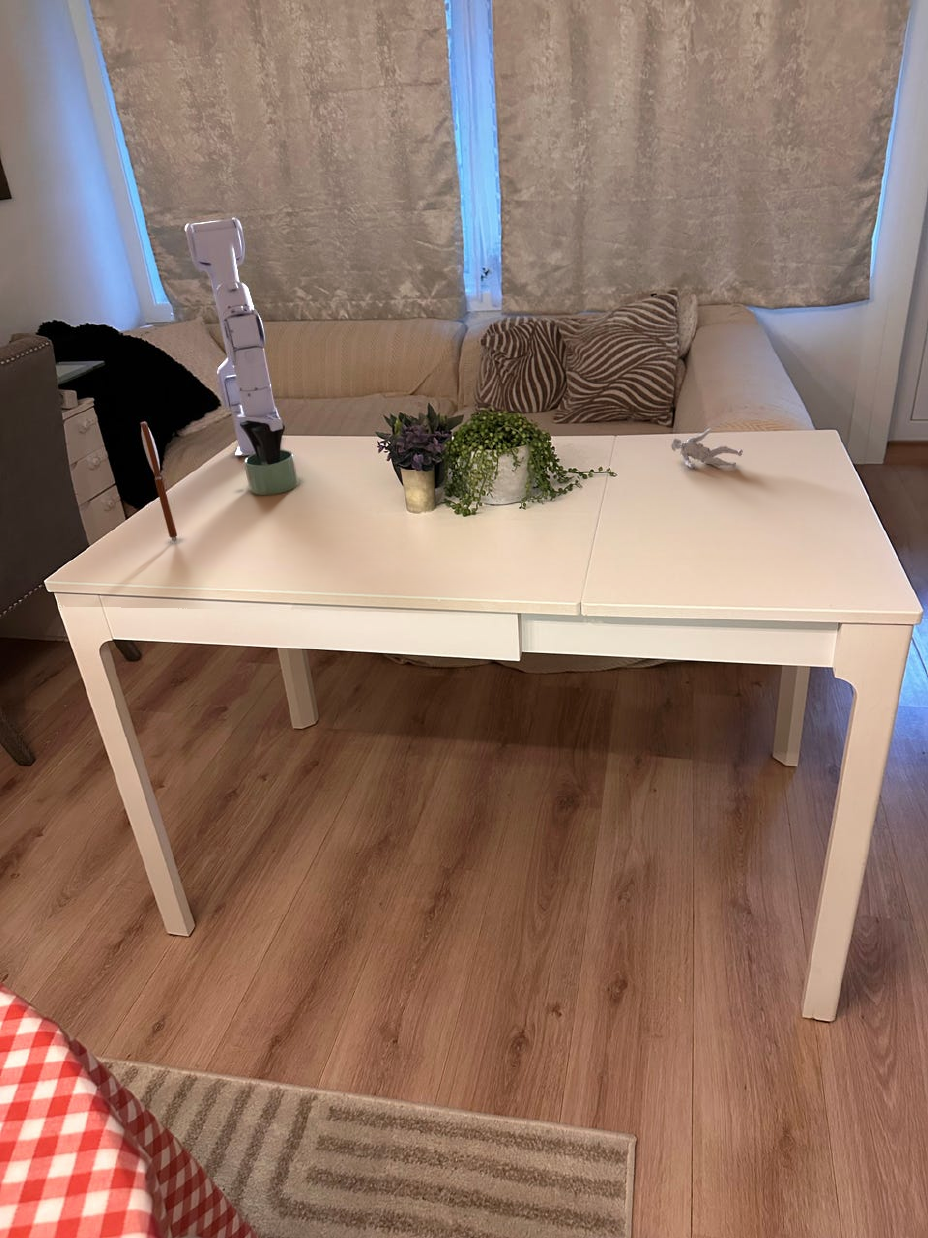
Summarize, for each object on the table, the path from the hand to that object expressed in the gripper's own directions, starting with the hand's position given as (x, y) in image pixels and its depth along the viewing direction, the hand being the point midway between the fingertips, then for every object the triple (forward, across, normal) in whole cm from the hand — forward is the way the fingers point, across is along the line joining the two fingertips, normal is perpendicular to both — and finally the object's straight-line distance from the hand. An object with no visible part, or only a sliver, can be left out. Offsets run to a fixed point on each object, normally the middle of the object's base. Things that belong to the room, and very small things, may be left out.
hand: (269, 460), depth 167 cm
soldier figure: (+5, +49, +60) cm, 78 cm away
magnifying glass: (+5, +12, -23) cm, 26 cm away
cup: (+5, 0, 0) cm, 5 cm away
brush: (+4, 0, 0) cm, 4 cm away
